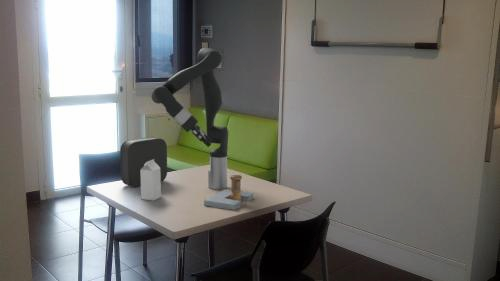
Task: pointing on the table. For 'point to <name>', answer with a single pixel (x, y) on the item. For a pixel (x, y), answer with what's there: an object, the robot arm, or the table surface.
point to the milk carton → (150, 181)
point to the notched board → (227, 200)
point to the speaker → (142, 158)
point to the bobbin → (236, 187)
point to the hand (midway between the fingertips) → (210, 143)
